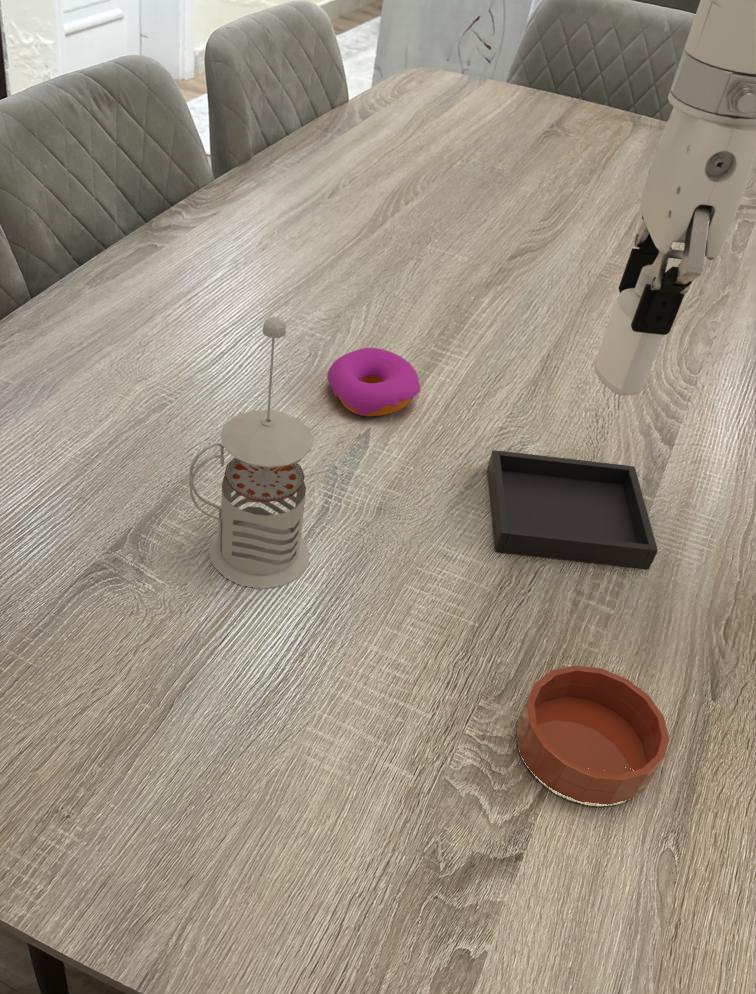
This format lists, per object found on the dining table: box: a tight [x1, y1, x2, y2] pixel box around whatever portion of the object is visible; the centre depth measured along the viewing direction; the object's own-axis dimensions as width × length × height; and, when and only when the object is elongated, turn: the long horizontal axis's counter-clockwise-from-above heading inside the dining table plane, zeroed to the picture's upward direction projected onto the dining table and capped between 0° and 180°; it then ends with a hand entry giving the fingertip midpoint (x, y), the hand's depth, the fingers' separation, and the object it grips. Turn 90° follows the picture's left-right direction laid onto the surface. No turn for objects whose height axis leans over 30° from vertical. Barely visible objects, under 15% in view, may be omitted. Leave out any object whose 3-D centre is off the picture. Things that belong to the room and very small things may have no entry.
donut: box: [326, 347, 421, 417], centre depth 110 cm, size 10×10×5 cm
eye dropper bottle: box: [593, 256, 669, 396], centre depth 82 cm, size 4×6×12 cm
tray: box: [486, 449, 659, 570], centre depth 98 cm, size 16×14×3 cm
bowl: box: [515, 665, 670, 805], centre depth 76 cm, size 11×11×4 cm
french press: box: [188, 316, 314, 590], centre depth 82 cm, size 10×12×25 cm
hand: (642, 310), depth 81 cm, fingers closed on eye dropper bottle, 5 cm apart
